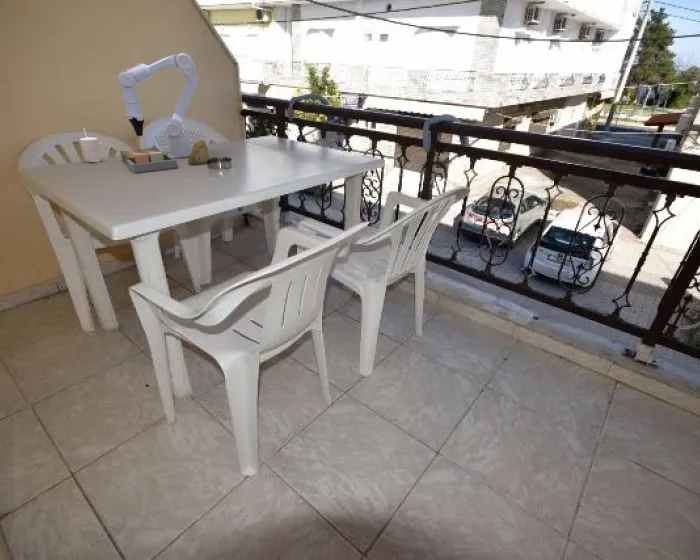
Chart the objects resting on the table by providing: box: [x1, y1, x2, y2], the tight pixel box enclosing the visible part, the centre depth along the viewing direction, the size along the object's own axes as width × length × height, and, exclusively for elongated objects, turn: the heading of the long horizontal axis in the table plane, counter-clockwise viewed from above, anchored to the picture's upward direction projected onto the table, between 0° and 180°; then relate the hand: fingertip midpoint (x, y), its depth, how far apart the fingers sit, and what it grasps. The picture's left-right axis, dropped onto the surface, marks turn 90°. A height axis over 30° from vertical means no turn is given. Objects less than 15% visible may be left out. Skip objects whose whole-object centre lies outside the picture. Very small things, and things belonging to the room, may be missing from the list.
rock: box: [187, 140, 210, 166], centre depth 169 cm, size 11×9×10 cm
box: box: [126, 155, 179, 174], centre depth 159 cm, size 17×10×4 cm, turn 129°
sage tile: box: [149, 151, 164, 162], centre depth 162 cm, size 5×5×2 cm
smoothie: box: [79, 127, 101, 163], centre depth 162 cm, size 6×6×14 cm
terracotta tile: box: [133, 153, 149, 164], centre depth 159 cm, size 5×5×2 cm
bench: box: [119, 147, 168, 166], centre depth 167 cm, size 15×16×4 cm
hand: (139, 135), depth 172 cm, fingers closed
